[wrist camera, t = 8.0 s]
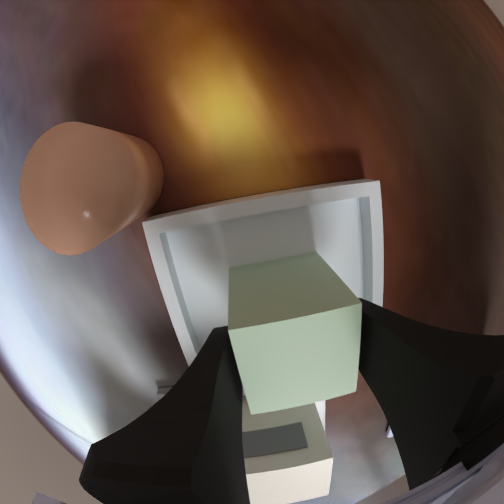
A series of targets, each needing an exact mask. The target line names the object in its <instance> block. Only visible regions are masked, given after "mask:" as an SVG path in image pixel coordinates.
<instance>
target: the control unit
mask: <svg viewBox="0 0 504 504" xmlns="http://www.w3.org/2000/svg"><path fill="white" fill-rule="evenodd" d="M171 388H172V387H163V388H158V391H157V396H158V398H159V400H160V399H161V398H162V397H163V396H164V395H165V394H166V393H167V392H168V391H169V390H170V389H171ZM242 444H243V454H244V462H245V470H246V478H247V485H248V492H249V499H250V504H288V503H293V502H298V501H303V500H308V499H312V498H317V497H321V496H325V495H329V488H330V480H331V473H332V464H333V455H332V452H331V449H330V446H329V443H328V440H327V437H326V434H325V400H324V401H320V402H315V403H311V404H307V405H302V406H298V407H293V408H288V409H283V410H277V411H272V412H266V413H260V414H253V415H251V412H250V409H249V405H248V402H247V399H246V395H244V396H243V400H242Z"/></svg>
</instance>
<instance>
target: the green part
mask: <svg viewBox="0 0 504 504" xmlns="http://www.w3.org/2000/svg"><path fill="white" fill-rule="evenodd" d="M361 319H362V302H361V301H360V300H359V299H358V298H357V297H356V295H355V294H354V293H353V292H352V291H351V290H350V288H349V287H348V286H347V285H346V284H345V283H344V282H343V281H342V279H341V278H340V277H339V276H338V275H337V274H336V273H335V272H334V270H333V269H332V268H331V267H330V266H329V265H328V264H327V263H326V262H325V261H324V259H323V258H322V257H321V256H320V255H319V254H318V253H317V252H312V253H306V254H301V255H295V256H290V257H285V258H279V259H274V260H268V261H263V262H257V263H252V264H246V265H241V266H235V267H229V295H228V332H229V336H230V340H231V344H232V348H233V352H234V355H235V359H236V363H237V366H238V370H239V374H240V377H241V381H242V385H243V388H244V392H245V395H246V399H247V402H248V405H249V409H250V412H251V415H253V414H260V413H266V412H272V411H277V410H283V409H288V408H293V407H298V406H302V405H307V404H311V403H315V402H320V401H324V400H327V399H331V398H335V397H339V396H342V395H346V394H349V393H352V392H356V386H357V376H358V366H359V354H360V339H361Z"/></svg>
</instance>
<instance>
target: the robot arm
mask: <svg viewBox="0 0 504 504" xmlns="http://www.w3.org/2000/svg"><path fill="white" fill-rule="evenodd" d="M358 299H359V300H360V301H361V302H362V319H361V339H360V354H359V366H358V369H359V371H360V372H361V374H362V376H363V377H364V379H365V381H366V382H367V384H368V385H369V387H370V389H371V390H372V392H373V394H374V395H375V397H376V399H377V400H378V402H379V404H380V406H381V408H382V410H383V412H384V414H385V417H386V419H387V421H388V424H389V427H388V430H387V433H386V435H387V437H393V436H394V439H395V442H396V444H397V447H398V450H399V453H400V456H401V459H402V463H403V466H404V470H405V473H406V477H407V481H408V485H409V490H410V491H408V492H406V493H404V494H402V495H400V496H397V497H395V498H393V499H390V500H388V501H386V502H383V503H381V504H429V503H431V502H433V503H432V504H504V335H499V336H493V335H475V334H466V333H460V332H454V331H449V330H444V329H440V328H437V327H433V326H429V325H426V324H423V323H420V322H417V321H415V320H412V319H409V318H407V317H404V316H402V315H399V314H397V313H395V312H392V311H390V310H388V309H385V308H383V307H381V306H379V305H377V304H374V303H372V302H370V301H367V300H365V299H362V298H358ZM242 400H243V386H242V381H241V377H240V374H239V370H238V366H237V363H236V359H235V355H234V352H233V348H232V344H231V340H230V336H229V332H228V326H223V327H216V328H213V330H212V331H211V333H210V334H209V336H208V338H207V340H206V341H205V343H204V345H203V346H202V348H201V349H200V351H199V353H198V354H197V356H196V357H195V359H194V360H193V362H192V363H191V365H190V366H189V367H188V369H187V370H186V371H185V373H184V374H183V375H182V377H181V378H180V379H179V380H178V381H177V383H176V384H175V385H174V386H173V387H172V388H171V389H170V390H169V391H168V392H167V393H166V394H165V395H164V396H163V397H162V398H161V399H160V400H159V401H158V402H157V403H155V404H154V405H153V406H152V407H151V408H150V409H148V410H147V411H146V412H145V413H144V414H142V415H141V416H140V417H138V418H137V419H136V420H134V421H133V422H131V423H130V424H128V425H127V426H125V427H124V428H122V429H120V430H119V431H117V432H115V433H113V434H111V435H109V436H108V437H106V438H104V439H102V440H100V441H98V442H96V443H94V444H92V445H91V447H90V449H89V452H88V455H87V457H86V460H85V463H84V466H83V470H82V472H81V475H80V478H79V482H80V484H81V485H82V487H83V488H84V490H86V491H87V492H88V493H89V494H90V495H92V496H93V497H94V498H96V499H97V500H99V501H100V502H102V503H103V504H250V499H249V492H248V485H247V478H246V470H245V462H244V454H243V444H242ZM32 504H66V503H64V502H62V501H60V500H58V499H55V498H53V497H50V496H48V495H46V494H43V493H41V492H39V491H37V492H36V493H35V496H34V499H33V501H32Z"/></svg>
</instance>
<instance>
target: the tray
mask: <svg viewBox="0 0 504 504" xmlns="http://www.w3.org/2000/svg"><path fill="white" fill-rule="evenodd" d="M142 224H143V228H144V232H145V236H146V240H147V243H148V247H149V251H150V254H151V258H152V261H153V265H154V268H155V272H156V275H157V278H158V282H159V285H160V288H161V291H162V294H163V297H164V300H165V303H166V306H167V309H168V312H169V315H170V318H171V321H172V324H173V327H174V329H175V332H176V335H177V338H178V340H179V343H180V346H181V348H182V351H183V353H184V356H185V359H186V361H187V364H188V366H190V365H191V363H192V362H193V360H194V359H195V357H196V356H197V354H198V353H199V351H200V349H201V348H202V346H203V345H204V343H205V341H206V340H207V338H208V336H209V334H210V333H211V331H212V330H213V328H216V327H223V326H228V295H229V267H235V266H241V265H246V264H252V263H257V262H263V261H268V260H274V259H279V258H285V257H290V256H295V255H301V254H306V253H312V252H317V253H318V254H319V255H320V256H321V257H322V258H323V259H324V261H325V262H326V263H327V264H328V265H329V266H330V267H331V268H332V269H333V270H334V272H335V273H336V274H337V275H338V276H339V277H340V278H341V279H342V281H343V282H344V283H345V284H346V285H347V286H348V287H349V288H350V290H351V291H352V292H353V293H354V294H355V295H356V297H357V298H362V299H365V300H367V301H370V302H372V303H374V304H377V305H379V306H381V307H382V306H383V280H384V244H383V218H382V202H381V190H380V181H378V180H371V179H359V180H350V181H342V182H335V183H327V184H320V185H313V186H306V187H300V188H293V189H287V190H280V191H274V192H268V193H263V194H257V195H251V196H246V197H240V198H235V199H230V200H224V201H219V202H214V203H209V204H204V205H200V206H195V207H190V208H185V209H181V210H176V211H172V212H167V213H163V214H159V215H154V216H151V217H149V218H148V219H146V220H145V221H143V222H142ZM242 386H243V385H242ZM244 395H245V392H244V388H243V396H244Z"/></svg>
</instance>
